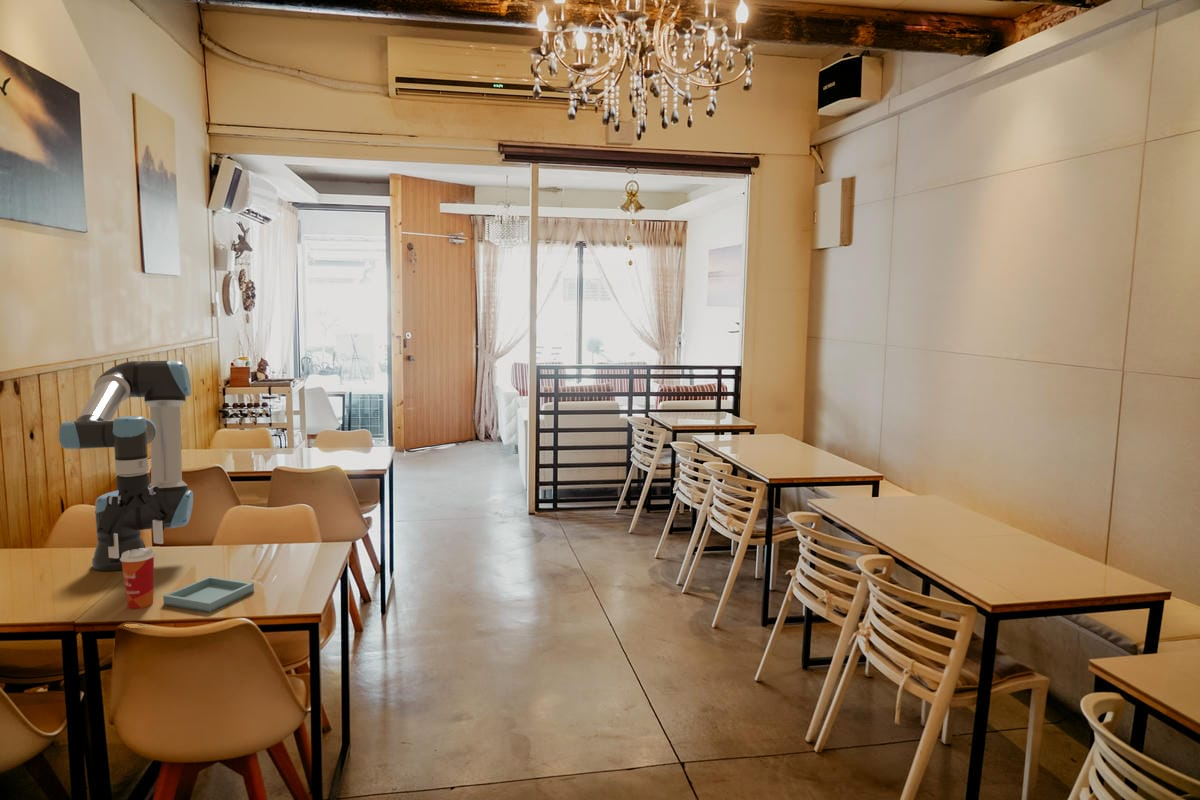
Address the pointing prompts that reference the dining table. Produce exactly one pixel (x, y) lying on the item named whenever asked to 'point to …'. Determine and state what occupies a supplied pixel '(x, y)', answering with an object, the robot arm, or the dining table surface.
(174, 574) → the dining table surface
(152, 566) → the coffee cup
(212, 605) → the tray
